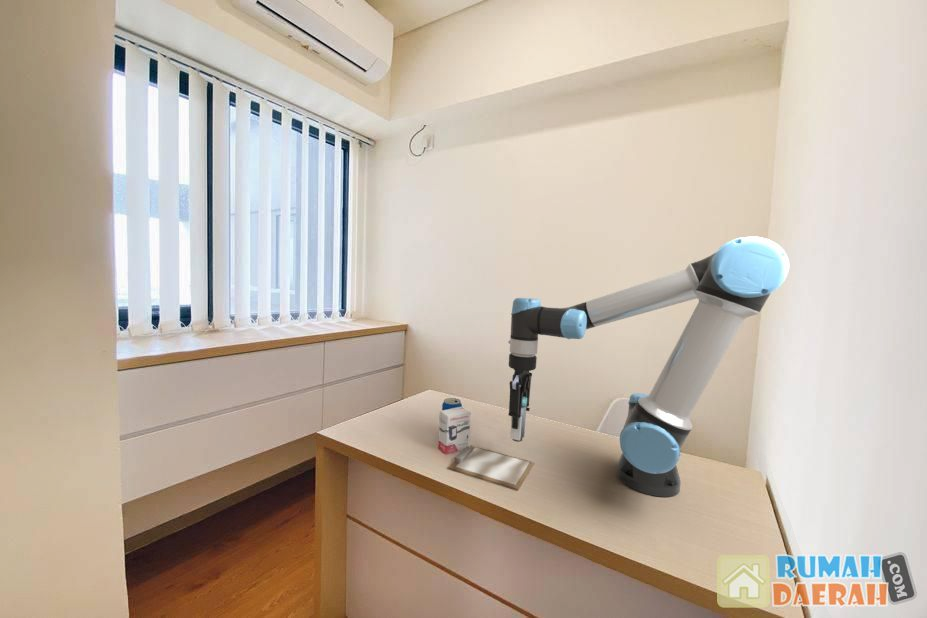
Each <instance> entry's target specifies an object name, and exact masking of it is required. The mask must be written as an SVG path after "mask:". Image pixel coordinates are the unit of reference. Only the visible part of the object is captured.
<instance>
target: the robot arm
mask: <svg viewBox="0 0 927 618" xmlns="http://www.w3.org/2000/svg"><path fill="white" fill-rule="evenodd" d="M789 270H790V261H789V258H788V255H787V253H786V251H785V250H784V249H783V248H782V247H781V246H780V245H779V244H778V243H777V242H774V241H772V240H770V239H768V238H764V237H761V236H746V237H738V238H734V239H732V240H730V241H728V242H726V243H724V244H723V245H722V246H720V247H719V249H717V251H715V252H714V253H712V254H711V255H709V256H706V257H705V258H703V259H701V260H698V261H694V262H692V263H689V264H688V265H687V266H686V269H684V270H683V269H682V270H680V271H676V272H674V273H671V274H667V275H665V276H662V277H658V278H656V279H653V280H649V281H647V282H643V283H639V284H638V285H634V286H631V287H628V288H624V289H622V290H619V291H616V292H613V293H612V292H611V293H609V294H606V295H603V296H599V297H597V298H593V299H591V300H588V301H585V302H581V303H579V304H578V303H577V304H575V305H572V306H569V307H560V308H559V307H547V306H542V305H541V300H540V299H538V298H530V297H529V298H528V297H517V298H514V299H513V302H512V307H511V308H512V309H511V314H510V315H511V319H510V320H511V321H510V324H511V325H510V340H508V341H507V342H508V344H509V352H510V353H509V354H508V367H509V368H510V369H513V370H514V372H513V373H514V374H512V380H510V381H509V405H508V414H507V416H509V417H510V432H509V433H510V434H509V439H511V440H512V439H515V440H519V441H520V437H521V422H522V417H521V408H522V400H523V396H524V397H526V398H527V406H526V412H530V409H531V408H530V407H529V406H530V394H531V387H532V385H531V384H532V377H533V372H531V371H534V370H536V369H537V359H538V357H537V356H536V355H537V354H538V346H539V345H538V344H539V336H550V337H556V338H561V339H562V338H564V339H567V340H571V339H573V340H581V339H583V338H584V337H585V334H586V331H587V330H590V329H594V328H596V327H598V326H603V325H607V324H610V323H613V322H617V321H620V320H624V319H627V318H631V317H635V316H638V315H643V314H645V313H649V312H652V311H653V312H654V311H655V310H656V311H657V310H661V309H663V308H668V307H670V306H674V305H675V306H676V305H679V304H682V303H685V302H688V301H692V300H698V303H697V305H696V306H695V308H694V311H692V314H691V316H690V318H689V320H688V321H687V324H686V325H685V327H684V329H683V331H682V332H681V335H680V337H679V338H678V341H677V342H676V343H675V346H674V348H673V350H672V351H671V354H670V355H669V357H668V359H667V361H666V363H665V364H664V367H663V369H662V370H661V372H660V374H659V376H658V378H657V380H656V381H655V383H654V386H653V388H652V389H651V391H650V393H648V394H647V393H633V394H631V395H630V396H629V400H628V411H627V412H628V413H627V417H626V420H625V421H624V425H623V428H622V430H621V432H620V435H619V445H620V450H621V452H622V454H621V456H620V458H619V459H618V462H617V465H616V475H617V478H618V479H619V480H620V482H622V483H623V484H624V485H626V486H628V487H629V488H630V489H631V488H632V489H633V490H635V491H637V492H640V493H643V494H645V495H650V496H654V497H662V498H663V497H664V498H666V497H667V498H669V497H674V496H677V495H678V494H679V493H680V492H681V491H680V490H681V478H680V474H679V471H678V466H677V464H678V462H679V461H680V456H681V448H682V446H683V445H684V443H685V441H686V440H687V437H688V436H689V434H690V432H691V431H692V429H693V424H692V422H691V419H690V415H691V413H692V412H693V410H694V408H695V406H696V405H697V403H698V402H699V400H700V398H701V396H702V394H703V393H704V391H705V389H706V388H707V386H708V384H709V383H710V381H711V379H712V377H713V375H714V374H715V373H716V370H717V368H718V366H719V365H720V363H722V359H723V358H724V356H725V354H726V353H727V351H728V349H729V348H730V346H731V344H732V342H733V340H734V339H735V337H736V336H737V333H738V332H739V331H740V328H741V326H742V325H743V323H744V322H745V320H746V319H747V318H749V317H753V316H756V315H759V314H760V312H761V311H762V309H763V307H764V306H765V304H766V302H767V300H768V299H769V297H770V295H771V294H772V293H773V292H775V291H776V290H777V289H778V288H780V286H781V285H783V283H784V282H785V280H786V279H787V276H788V274H789ZM526 422H527V418H526V419H525V426H526ZM520 442H521V441H520Z"/></svg>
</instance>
